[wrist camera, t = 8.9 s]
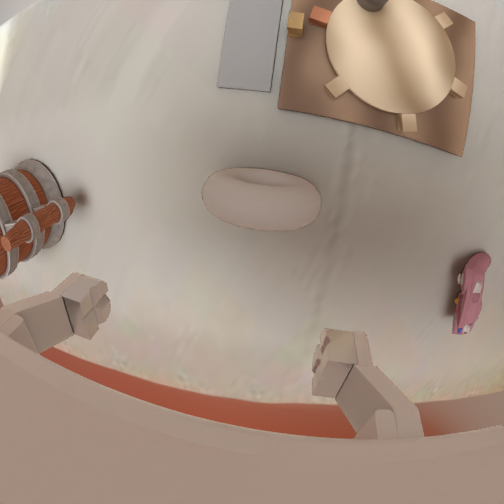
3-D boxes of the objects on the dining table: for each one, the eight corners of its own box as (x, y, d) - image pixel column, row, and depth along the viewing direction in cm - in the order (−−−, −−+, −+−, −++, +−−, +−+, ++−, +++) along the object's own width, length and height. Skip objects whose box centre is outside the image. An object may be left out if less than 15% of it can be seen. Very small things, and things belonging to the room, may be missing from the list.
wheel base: (468, 24, 16) (489, 16, 12) (455, 154, 24) (476, 162, 20) (297, -29, 18) (296, -49, 14) (278, 108, 25) (274, 106, 21)
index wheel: (415, -25, 14) (435, -45, 9) (479, 109, 20) (511, 112, 15) (278, 6, 19) (272, -17, 14) (351, 151, 24) (364, 159, 20)
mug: (5, 167, 32) (-66, 199, 19) (82, 142, 29) (-15, 173, 16) (24, 246, 39) (-36, 292, 25) (103, 246, 35) (29, 311, 22)
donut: (320, 174, 27) (331, 203, 19) (314, 207, 29) (321, 249, 20) (220, 159, 28) (184, 181, 20) (218, 192, 30) (182, 227, 21)
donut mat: (285, -20, 19) (285, -22, 18) (270, 92, 25) (269, 91, 24) (235, -22, 19) (234, -25, 19) (218, 87, 25) (217, 87, 25)
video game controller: (459, 246, 29) (460, 274, 25) (490, 249, 27) (497, 279, 22) (449, 309, 33) (444, 343, 29) (477, 313, 31) (476, 348, 26)
